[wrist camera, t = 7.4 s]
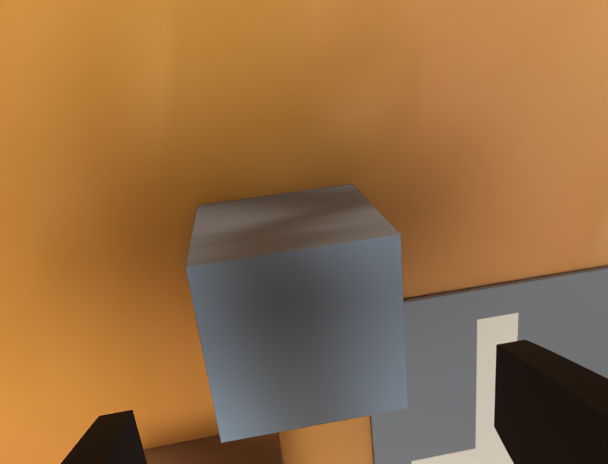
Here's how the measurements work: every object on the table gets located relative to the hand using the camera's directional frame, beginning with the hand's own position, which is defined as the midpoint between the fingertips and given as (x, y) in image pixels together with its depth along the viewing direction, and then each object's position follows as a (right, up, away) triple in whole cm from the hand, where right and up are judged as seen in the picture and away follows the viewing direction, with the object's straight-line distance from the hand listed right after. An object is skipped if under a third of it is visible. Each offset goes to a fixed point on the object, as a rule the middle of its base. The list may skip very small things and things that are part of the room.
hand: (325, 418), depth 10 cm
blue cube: (-1, +3, +7) cm, 8 cm away
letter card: (+7, -3, +10) cm, 13 cm away
